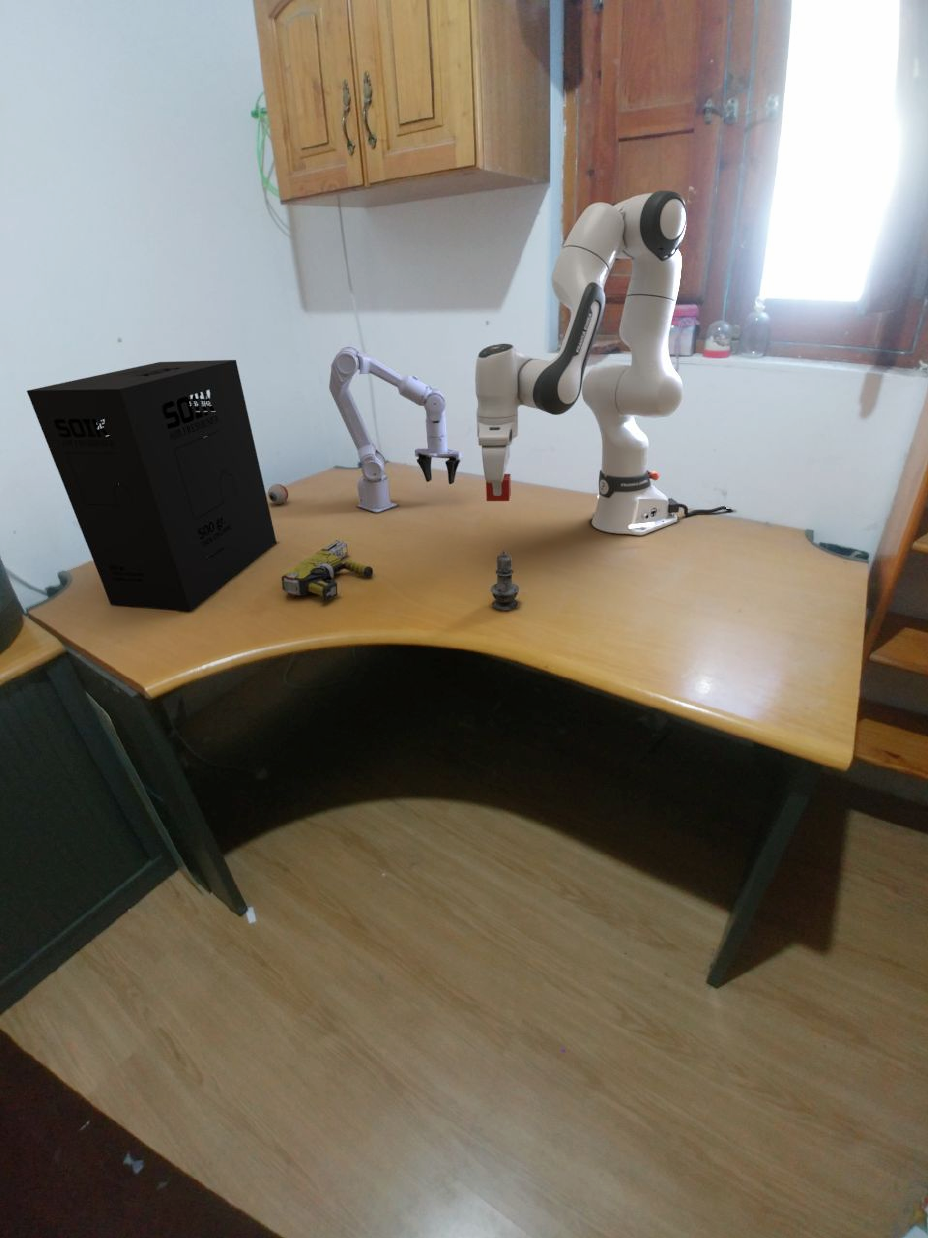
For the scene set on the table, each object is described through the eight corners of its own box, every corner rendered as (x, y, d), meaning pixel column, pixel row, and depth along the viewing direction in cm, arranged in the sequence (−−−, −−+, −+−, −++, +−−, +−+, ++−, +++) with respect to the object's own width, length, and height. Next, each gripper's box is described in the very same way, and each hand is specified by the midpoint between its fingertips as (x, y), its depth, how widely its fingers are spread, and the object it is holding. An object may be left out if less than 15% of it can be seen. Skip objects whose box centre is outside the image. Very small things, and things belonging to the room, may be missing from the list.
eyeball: (265, 505, 187) (261, 487, 184) (278, 499, 192) (274, 480, 189) (281, 507, 185) (277, 488, 182) (293, 500, 190) (290, 482, 187)
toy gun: (389, 548, 145) (334, 537, 149) (339, 588, 125) (277, 575, 129) (389, 566, 147) (335, 555, 151) (340, 608, 127) (279, 595, 131)
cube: (488, 494, 140) (488, 473, 137) (510, 494, 139) (510, 473, 136) (486, 501, 135) (485, 480, 133) (509, 501, 135) (508, 480, 132)
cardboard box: (190, 611, 129) (119, 389, 106) (110, 604, 133) (26, 390, 111) (276, 542, 160) (235, 359, 138) (209, 539, 165) (159, 361, 142)
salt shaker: (517, 611, 121) (517, 557, 115) (488, 610, 122) (486, 556, 116) (521, 598, 126) (520, 545, 120) (493, 596, 127) (491, 544, 121)
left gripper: (407, 437, 172) (412, 483, 178) (453, 440, 166) (455, 488, 173) (420, 431, 177) (423, 476, 184) (464, 434, 171) (466, 481, 178)
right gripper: (488, 417, 139) (489, 476, 146) (477, 439, 121) (479, 505, 128) (515, 417, 138) (516, 476, 145) (508, 439, 120) (509, 505, 127)
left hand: (440, 481), depth 179 cm, fingers open, 7 cm apart
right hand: (498, 490), depth 136 cm, fingers closed on cube, 5 cm apart
